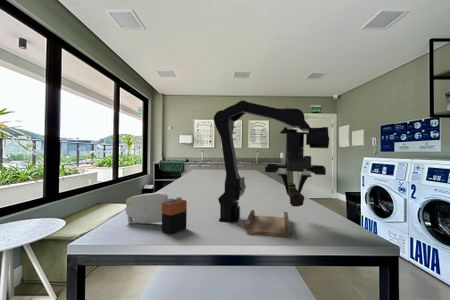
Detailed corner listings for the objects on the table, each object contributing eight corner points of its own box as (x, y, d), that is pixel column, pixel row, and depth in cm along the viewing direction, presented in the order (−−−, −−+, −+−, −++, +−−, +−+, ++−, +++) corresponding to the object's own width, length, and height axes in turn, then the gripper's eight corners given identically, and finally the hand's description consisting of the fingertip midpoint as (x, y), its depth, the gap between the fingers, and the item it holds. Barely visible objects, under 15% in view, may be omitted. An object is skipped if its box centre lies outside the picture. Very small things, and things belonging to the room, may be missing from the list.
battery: (161, 231, 69) (161, 199, 69) (177, 226, 75) (177, 195, 75) (170, 234, 67) (171, 200, 67) (187, 228, 72) (187, 197, 72)
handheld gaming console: (132, 227, 80) (171, 224, 77) (127, 230, 77) (167, 226, 74) (128, 195, 80) (167, 191, 77) (123, 197, 77) (163, 192, 74)
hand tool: (304, 207, 65) (304, 191, 65) (289, 206, 66) (290, 190, 66) (298, 194, 84) (298, 181, 84) (286, 193, 85) (287, 181, 85)
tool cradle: (245, 233, 68) (245, 223, 68) (251, 217, 85) (251, 209, 85) (289, 237, 65) (289, 226, 65) (287, 220, 82) (287, 212, 82)
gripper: (265, 146, 70) (263, 197, 69) (330, 148, 66) (329, 202, 65) (266, 147, 80) (265, 191, 80) (322, 148, 76) (321, 195, 76)
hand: (293, 194), depth 75 cm, fingers closed on hand tool, 3 cm apart
